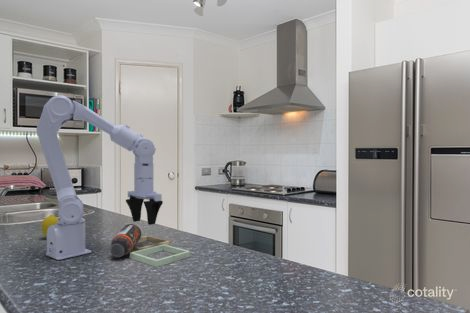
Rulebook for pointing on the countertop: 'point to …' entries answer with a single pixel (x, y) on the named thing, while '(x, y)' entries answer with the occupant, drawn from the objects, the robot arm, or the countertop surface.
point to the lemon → (48, 223)
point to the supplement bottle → (125, 240)
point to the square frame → (178, 256)
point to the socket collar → (151, 239)
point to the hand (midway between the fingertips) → (144, 222)
